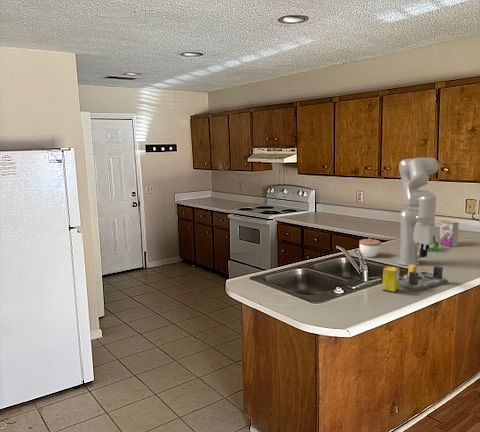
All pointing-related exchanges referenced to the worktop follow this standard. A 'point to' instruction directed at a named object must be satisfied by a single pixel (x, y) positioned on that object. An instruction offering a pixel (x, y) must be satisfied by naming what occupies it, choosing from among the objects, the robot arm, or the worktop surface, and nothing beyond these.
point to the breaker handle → (412, 268)
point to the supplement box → (390, 279)
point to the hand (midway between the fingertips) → (423, 256)
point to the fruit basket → (434, 247)
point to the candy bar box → (448, 233)
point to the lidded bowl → (369, 247)
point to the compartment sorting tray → (422, 280)
